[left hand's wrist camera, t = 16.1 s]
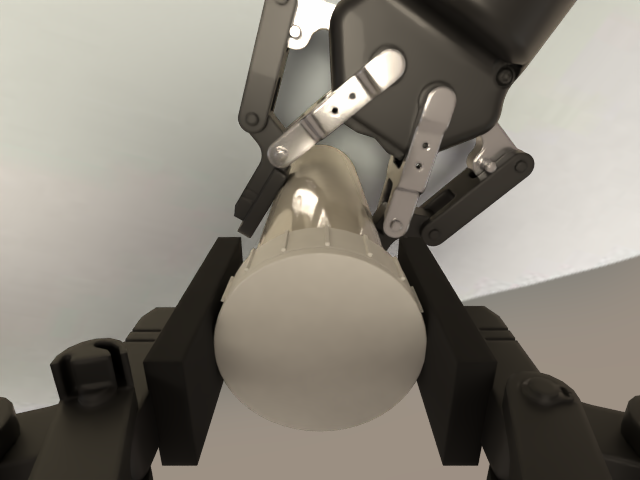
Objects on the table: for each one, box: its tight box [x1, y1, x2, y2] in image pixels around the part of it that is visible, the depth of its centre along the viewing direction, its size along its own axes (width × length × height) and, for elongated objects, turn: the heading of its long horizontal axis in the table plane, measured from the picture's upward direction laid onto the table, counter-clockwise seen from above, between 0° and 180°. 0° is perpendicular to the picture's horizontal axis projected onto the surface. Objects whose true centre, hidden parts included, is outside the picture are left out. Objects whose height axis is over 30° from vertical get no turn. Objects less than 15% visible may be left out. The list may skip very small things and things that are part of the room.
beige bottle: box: [257, 145, 383, 248], centre depth 19 cm, size 5×5×16 cm
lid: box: [214, 225, 427, 431], centre depth 11 cm, size 5×5×2 cm
